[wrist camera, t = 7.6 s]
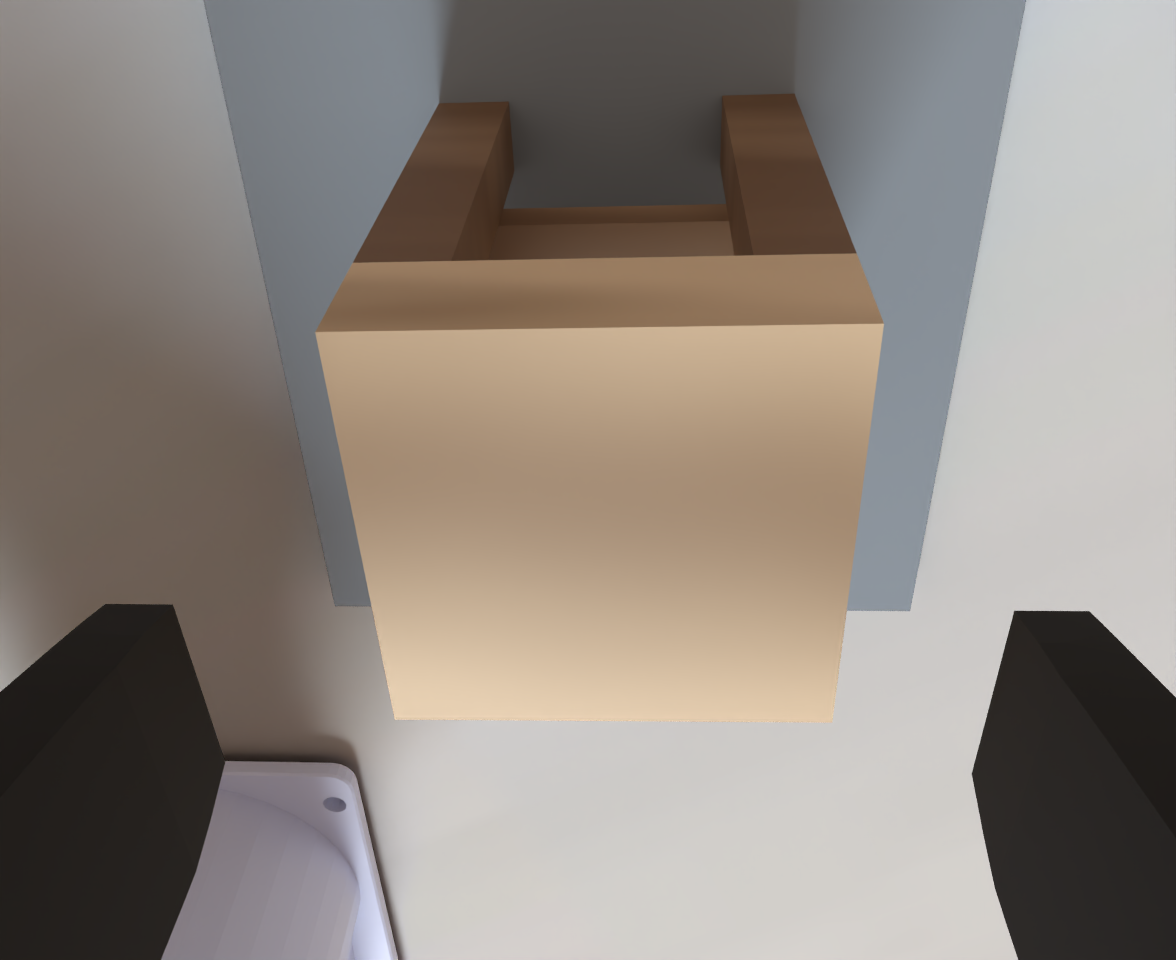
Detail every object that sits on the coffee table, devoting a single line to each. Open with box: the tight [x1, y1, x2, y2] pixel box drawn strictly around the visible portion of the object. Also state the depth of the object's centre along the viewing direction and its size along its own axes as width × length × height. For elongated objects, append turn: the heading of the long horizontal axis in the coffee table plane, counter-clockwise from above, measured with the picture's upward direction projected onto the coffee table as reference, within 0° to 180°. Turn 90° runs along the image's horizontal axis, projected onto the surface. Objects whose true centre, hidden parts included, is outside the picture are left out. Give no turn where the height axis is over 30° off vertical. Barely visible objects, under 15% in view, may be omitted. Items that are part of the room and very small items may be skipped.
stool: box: [315, 94, 884, 722], centre depth 14 cm, size 5×5×7 cm
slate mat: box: [204, 0, 1026, 611], centre depth 17 cm, size 14×11×1 cm
